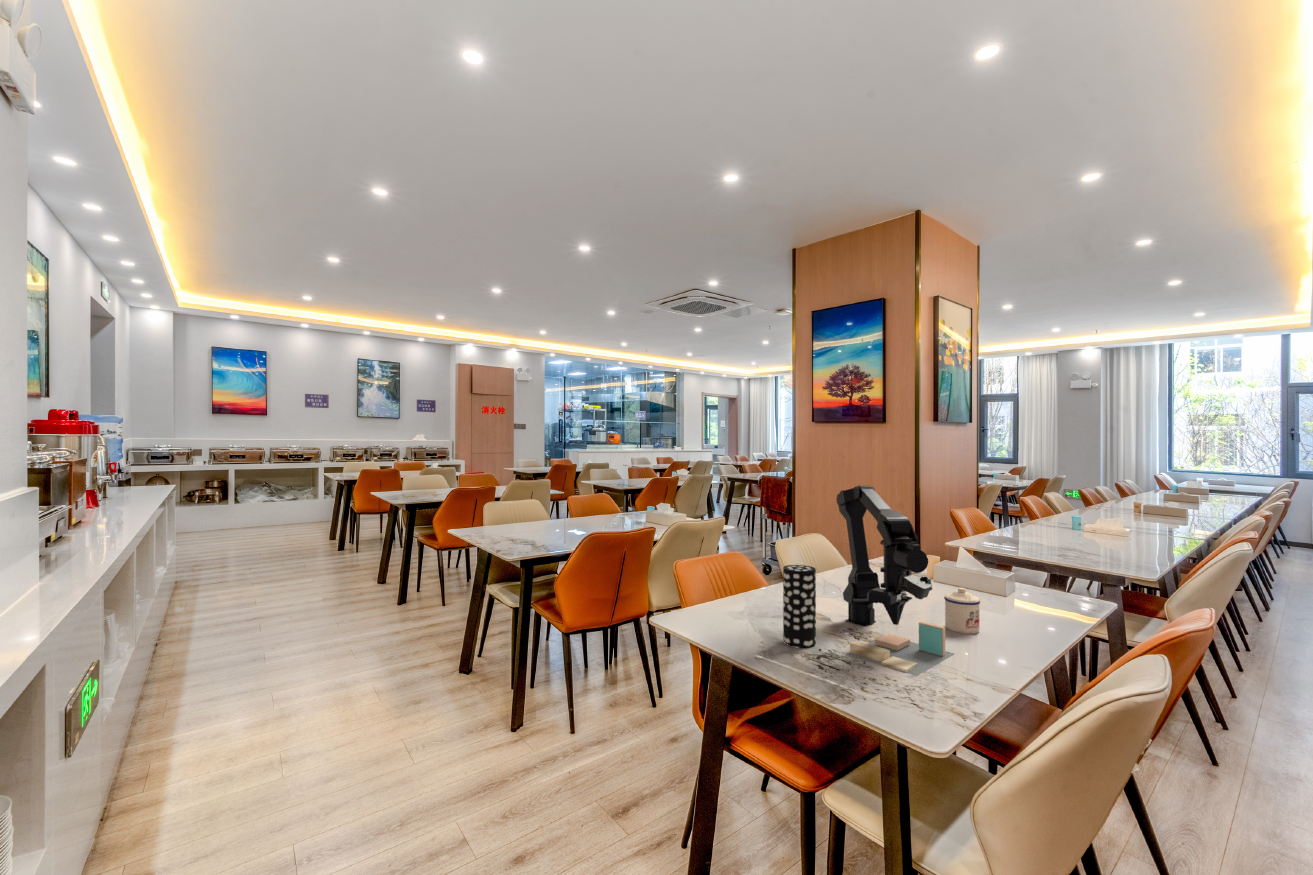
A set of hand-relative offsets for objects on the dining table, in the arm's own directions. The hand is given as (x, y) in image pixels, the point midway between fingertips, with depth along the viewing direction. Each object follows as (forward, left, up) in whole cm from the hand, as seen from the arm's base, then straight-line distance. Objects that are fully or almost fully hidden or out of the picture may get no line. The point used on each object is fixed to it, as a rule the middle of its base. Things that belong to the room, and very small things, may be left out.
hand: (895, 624), depth 148 cm
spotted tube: (-17, -18, -6) cm, 26 cm away
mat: (+4, -6, -6) cm, 9 cm away
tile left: (0, +2, -4) cm, 5 cm away
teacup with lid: (+6, +29, -6) cm, 30 cm away
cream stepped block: (+3, -13, -5) cm, 14 cm away
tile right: (+9, +1, -5) cm, 10 cm away
